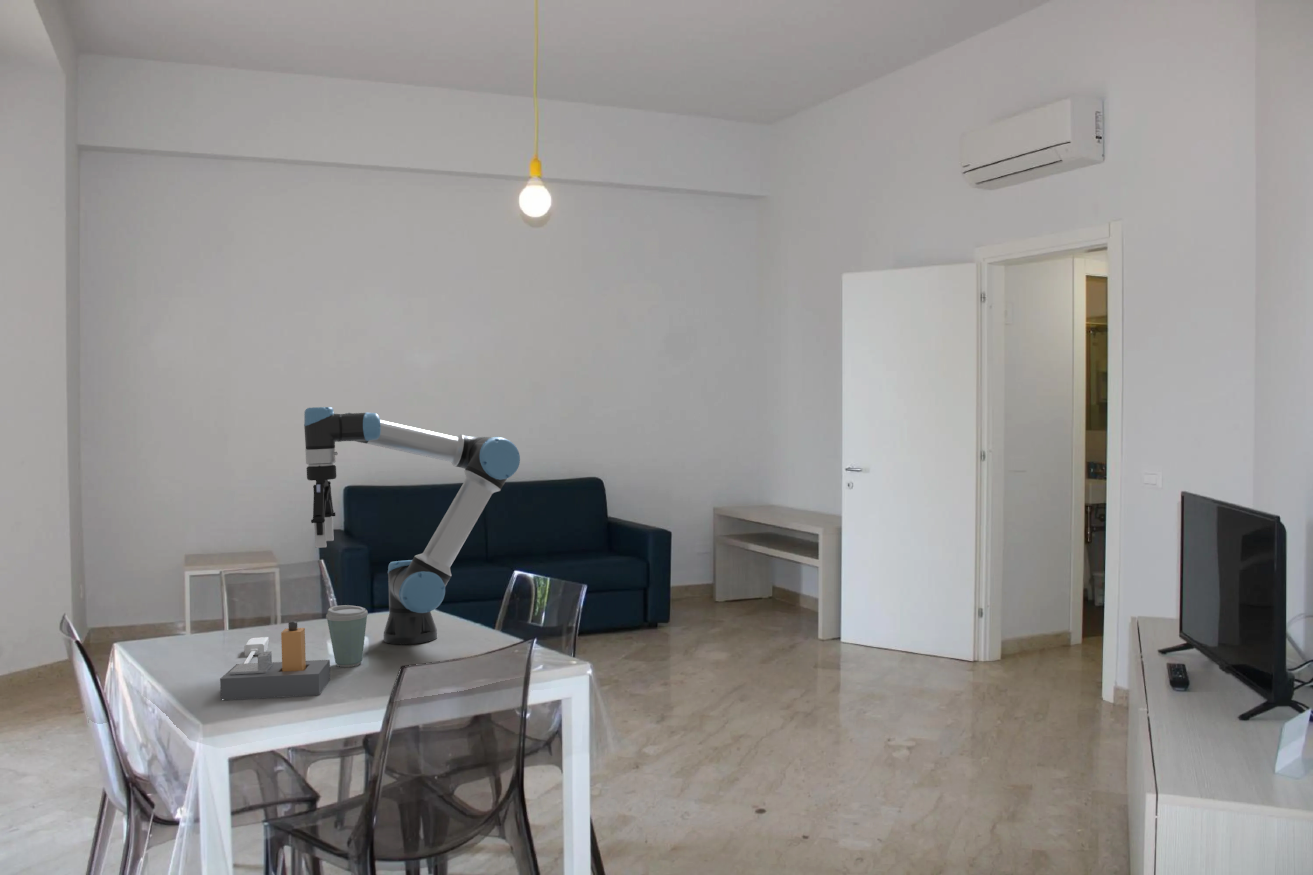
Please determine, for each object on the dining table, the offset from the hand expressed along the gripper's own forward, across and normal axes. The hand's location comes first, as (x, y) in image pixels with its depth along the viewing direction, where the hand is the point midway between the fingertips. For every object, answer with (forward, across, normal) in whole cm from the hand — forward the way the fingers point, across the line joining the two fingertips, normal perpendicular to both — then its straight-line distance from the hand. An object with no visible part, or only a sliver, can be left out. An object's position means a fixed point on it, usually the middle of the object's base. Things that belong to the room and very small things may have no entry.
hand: (324, 544), depth 276 cm
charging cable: (+31, +4, +21) cm, 38 cm away
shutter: (+25, -29, +14) cm, 41 cm away
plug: (+28, -30, +4) cm, 41 cm away
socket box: (+30, -30, +8) cm, 43 cm away
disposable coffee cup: (+31, -8, -6) cm, 33 cm away
